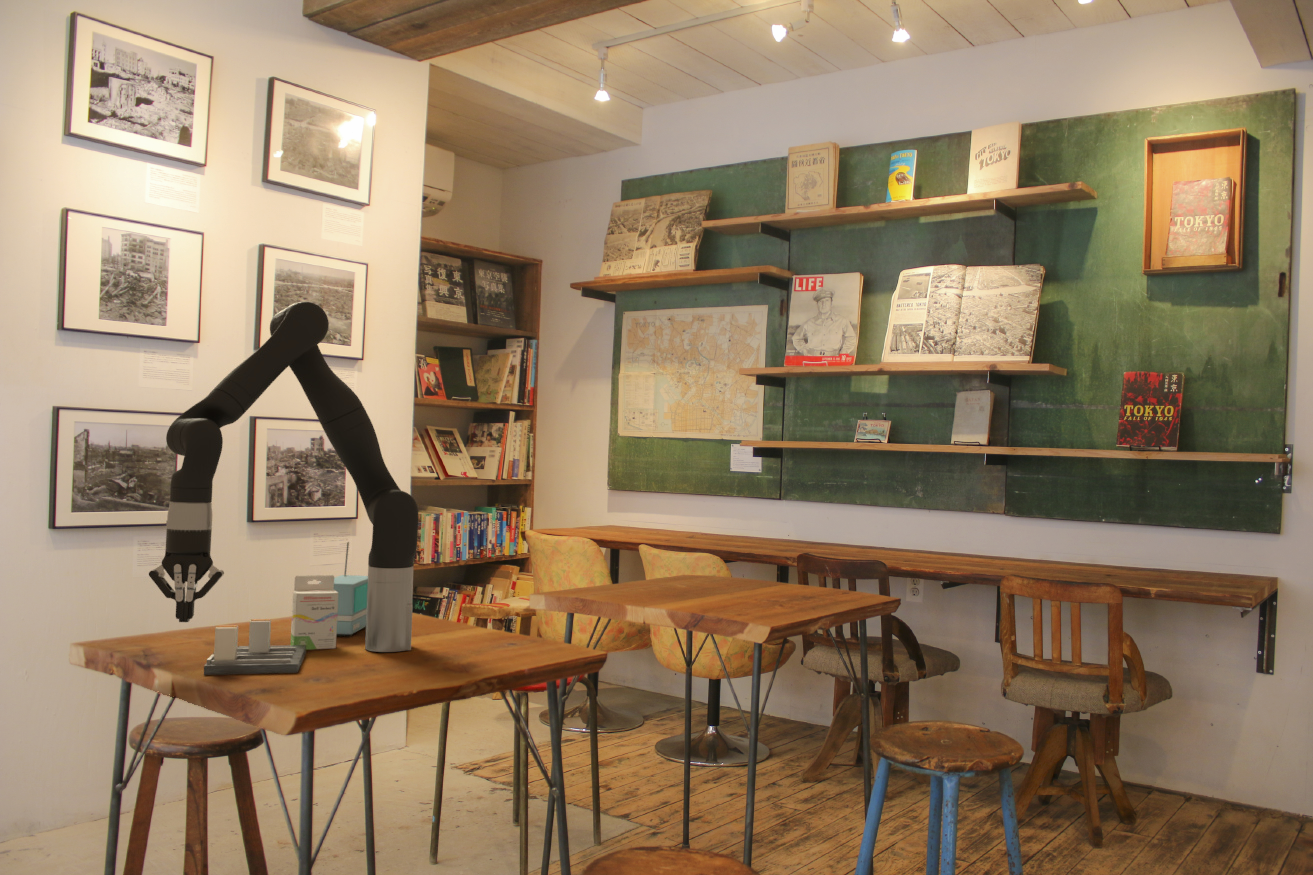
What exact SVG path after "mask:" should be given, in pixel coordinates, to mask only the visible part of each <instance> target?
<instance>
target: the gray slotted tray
mask: <svg viewBox="0 0 1313 875" xmlns="http://www.w3.org/2000/svg"><path fill="white" fill-rule="evenodd" d="M306 654H307V650H306V645H290V644H288V645H287V644H286V645H279V644H277V645H270V651H269V652H249V645H237V658H236V660H214V652H213V653H212V654H211V655H210V656H209V657H208V658H207V659H206V663H205V664H204V666H203V676H209V675H211V676H213V675H216V676H218V675H253V674H254V675H255V674H256V675H259V674H260V675H262V674H297V673H299V671H300V668H301V666H302V664H303V662H304V659H305V656H306Z"/></svg>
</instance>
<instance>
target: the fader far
mask: <svg viewBox="0 0 1313 875" xmlns="http://www.w3.org/2000/svg"><path fill="white" fill-rule="evenodd" d="M271 624H272V618H271V619H270V618H268V619H267V618H265V619H264V618H263V619H261V618H256V619H255V618H253V619H250V621H249V630H248V632H249V633H248V646H249V652H269V651H270V646H271V632H272V625H271Z"/></svg>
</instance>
